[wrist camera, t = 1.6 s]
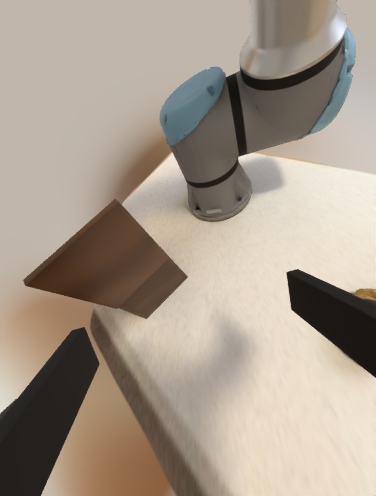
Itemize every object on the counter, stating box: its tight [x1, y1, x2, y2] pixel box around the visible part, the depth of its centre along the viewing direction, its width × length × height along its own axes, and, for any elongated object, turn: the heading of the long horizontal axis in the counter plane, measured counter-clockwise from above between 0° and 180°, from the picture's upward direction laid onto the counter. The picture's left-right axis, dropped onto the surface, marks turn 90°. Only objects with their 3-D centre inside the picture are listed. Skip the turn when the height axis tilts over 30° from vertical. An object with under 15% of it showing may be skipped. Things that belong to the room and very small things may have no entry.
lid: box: [24, 199, 169, 309], centre depth 25 cm, size 14×12×1 cm
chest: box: [118, 257, 187, 319], centre depth 39 cm, size 14×12×9 cm
